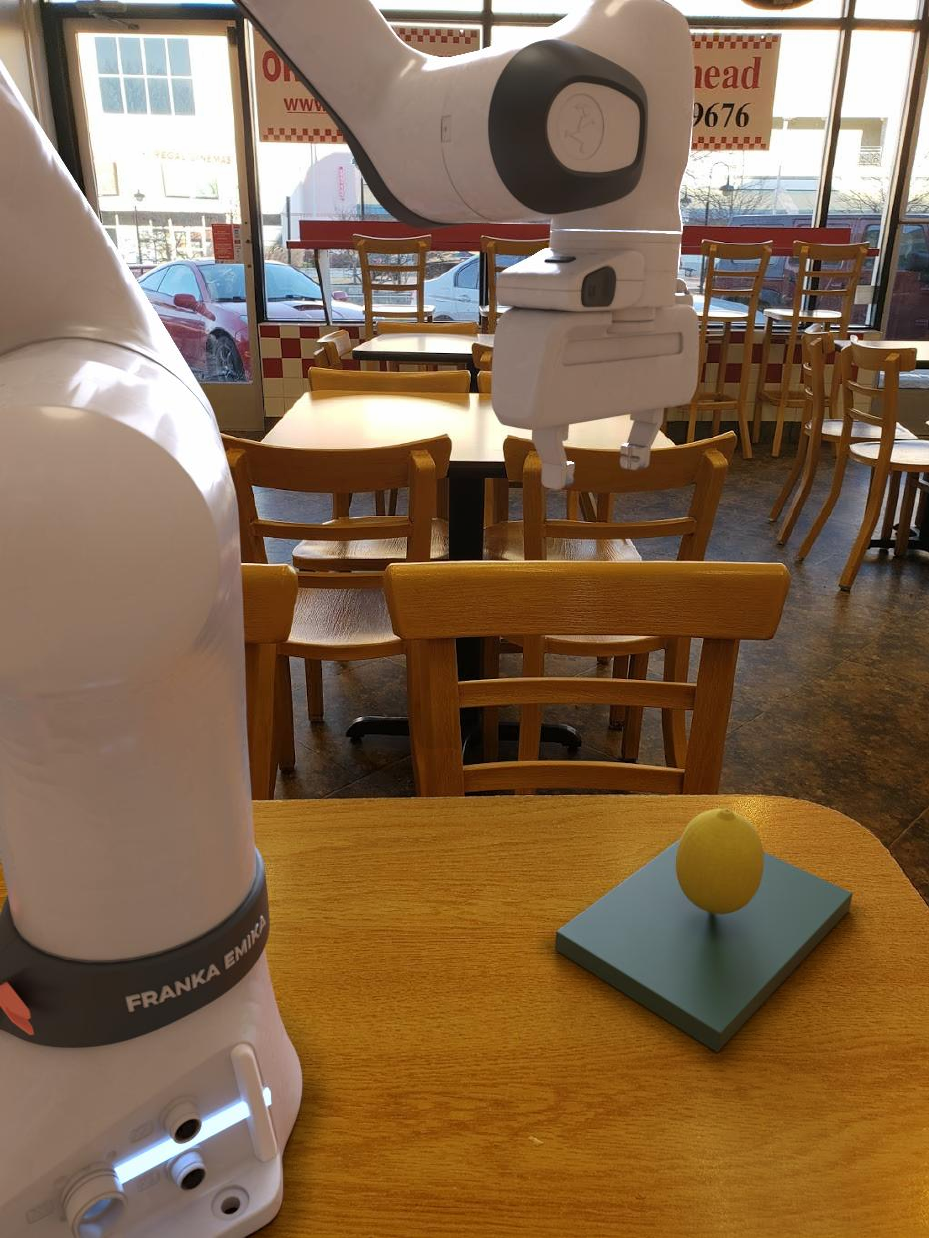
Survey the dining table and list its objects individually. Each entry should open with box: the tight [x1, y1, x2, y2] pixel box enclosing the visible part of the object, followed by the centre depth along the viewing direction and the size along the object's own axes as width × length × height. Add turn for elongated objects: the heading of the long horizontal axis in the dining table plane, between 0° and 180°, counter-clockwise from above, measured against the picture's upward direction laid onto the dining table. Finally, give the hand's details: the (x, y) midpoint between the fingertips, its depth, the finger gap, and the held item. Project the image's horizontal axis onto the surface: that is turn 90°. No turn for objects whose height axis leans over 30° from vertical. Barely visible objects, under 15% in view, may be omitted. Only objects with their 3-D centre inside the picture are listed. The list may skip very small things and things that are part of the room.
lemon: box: [676, 807, 764, 914], centre depth 62 cm, size 6×6×8 cm
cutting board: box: [554, 838, 853, 1053], centre depth 63 cm, size 18×12×2 cm, turn 136°
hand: (597, 477), depth 69 cm, fingers open, 8 cm apart
